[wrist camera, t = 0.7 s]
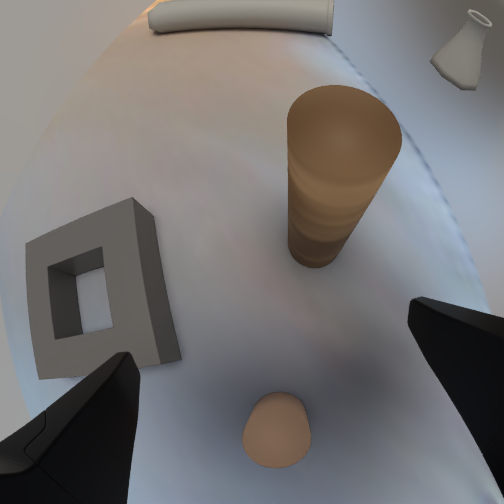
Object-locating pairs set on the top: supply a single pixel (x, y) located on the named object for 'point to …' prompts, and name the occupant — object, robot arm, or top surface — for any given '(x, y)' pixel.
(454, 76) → the flask
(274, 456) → the short pin
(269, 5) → the tube
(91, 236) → the grey square socket block
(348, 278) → the top surface
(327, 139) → the tall pin
